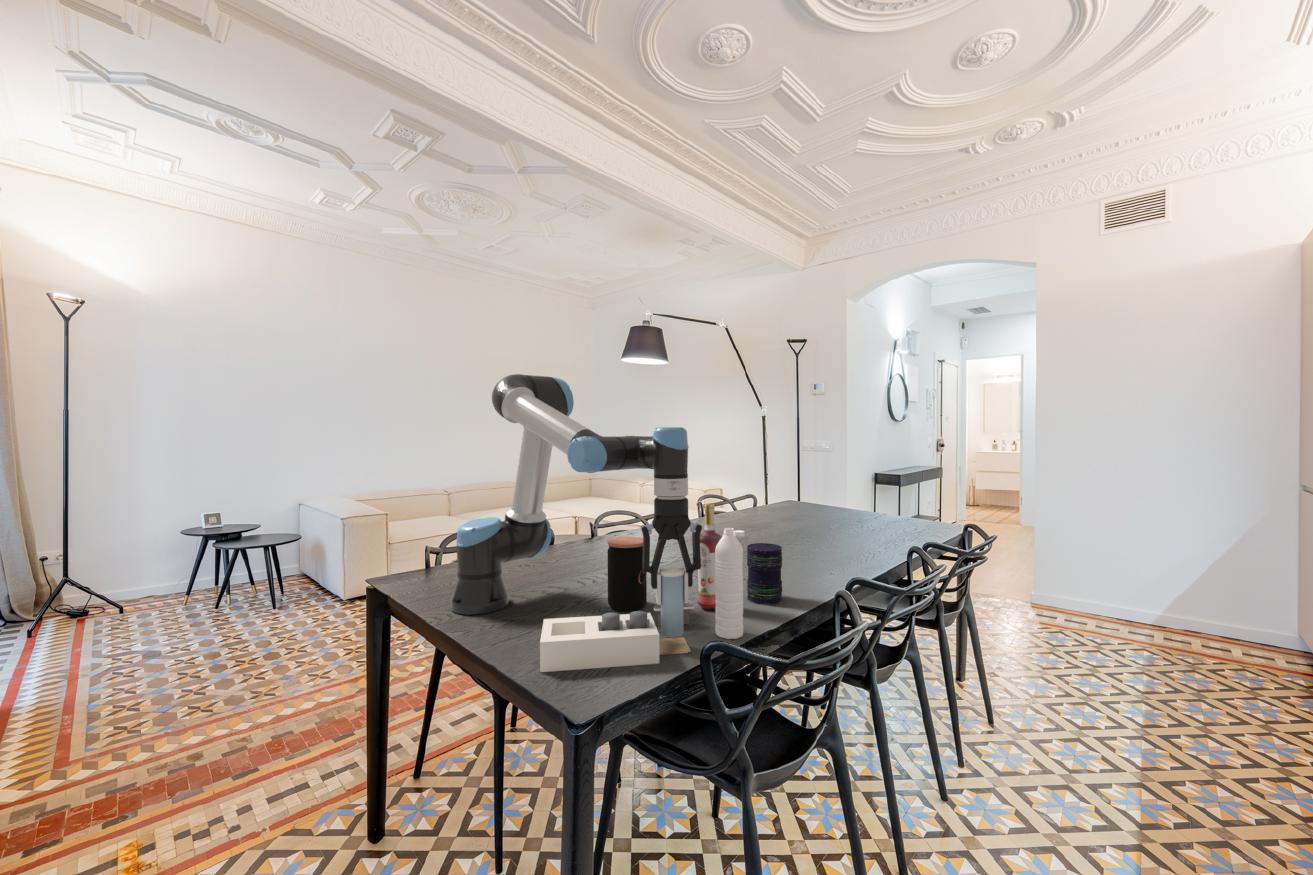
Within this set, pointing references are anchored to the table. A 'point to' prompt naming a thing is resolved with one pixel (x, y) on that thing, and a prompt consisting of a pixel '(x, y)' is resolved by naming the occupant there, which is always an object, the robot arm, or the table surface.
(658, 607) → the platform
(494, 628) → the table surface
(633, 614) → the button
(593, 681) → the table surface
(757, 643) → the table surface
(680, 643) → the coaster
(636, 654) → the housing
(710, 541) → the liquor
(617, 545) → the coffee jar
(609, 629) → the button
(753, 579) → the storage jar
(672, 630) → the cartridge
